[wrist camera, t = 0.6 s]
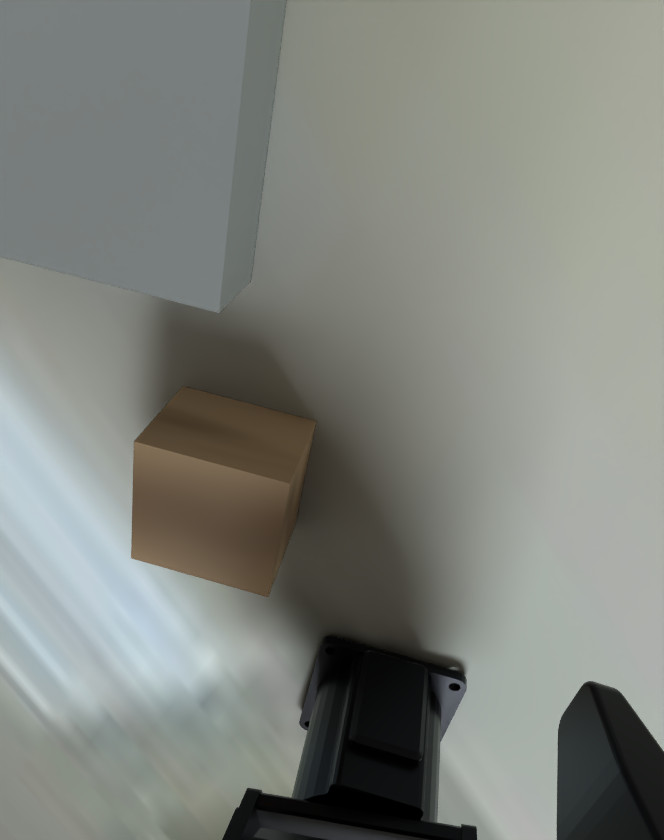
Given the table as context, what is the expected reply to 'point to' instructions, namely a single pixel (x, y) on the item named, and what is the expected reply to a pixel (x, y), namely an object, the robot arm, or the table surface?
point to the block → (218, 488)
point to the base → (137, 140)
